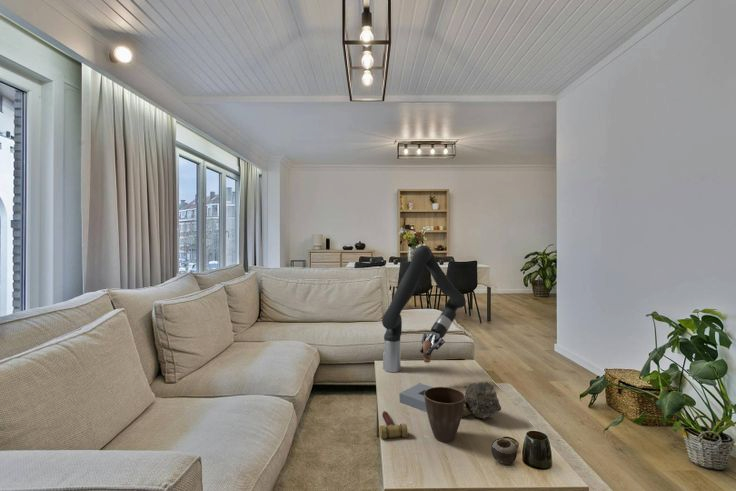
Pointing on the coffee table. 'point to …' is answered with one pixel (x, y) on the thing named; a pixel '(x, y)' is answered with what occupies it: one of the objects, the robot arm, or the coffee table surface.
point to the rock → (480, 400)
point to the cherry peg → (425, 348)
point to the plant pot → (444, 411)
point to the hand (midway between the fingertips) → (424, 353)
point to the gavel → (391, 428)
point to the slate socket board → (415, 396)
